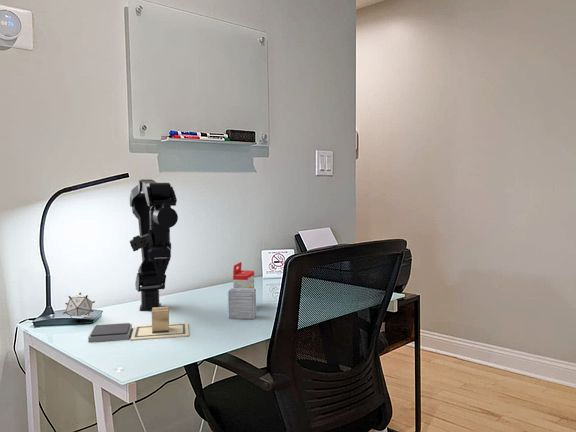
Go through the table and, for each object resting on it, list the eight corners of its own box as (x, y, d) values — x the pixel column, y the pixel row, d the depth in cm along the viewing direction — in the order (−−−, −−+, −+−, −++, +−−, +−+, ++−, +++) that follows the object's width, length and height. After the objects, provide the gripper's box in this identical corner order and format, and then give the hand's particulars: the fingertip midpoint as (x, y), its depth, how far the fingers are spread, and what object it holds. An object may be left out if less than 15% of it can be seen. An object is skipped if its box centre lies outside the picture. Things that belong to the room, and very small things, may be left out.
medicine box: (256, 315, 152) (256, 288, 152) (254, 319, 148) (253, 291, 147) (231, 315, 153) (231, 287, 152) (228, 319, 149) (227, 290, 148)
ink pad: (94, 330, 137) (94, 324, 137) (132, 328, 139) (131, 322, 139) (88, 342, 127) (88, 335, 127) (128, 339, 130) (128, 332, 130)
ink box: (247, 311, 157) (247, 266, 156) (232, 311, 158) (232, 265, 157) (254, 305, 165) (254, 261, 164) (240, 304, 166) (240, 261, 165)
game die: (75, 334, 146) (52, 312, 141) (78, 317, 153) (57, 295, 148) (101, 319, 146) (80, 296, 141) (103, 303, 153) (83, 280, 149)
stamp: (152, 328, 138) (152, 307, 138) (169, 327, 139) (168, 306, 138) (152, 333, 134) (151, 311, 133) (168, 332, 135) (168, 310, 134)
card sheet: (134, 327, 140) (134, 325, 140) (187, 323, 144) (187, 322, 144) (130, 340, 129) (130, 338, 129) (188, 336, 132) (188, 334, 132)
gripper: (133, 223, 152) (135, 273, 153) (128, 228, 134) (129, 285, 135) (170, 222, 155) (171, 271, 156) (170, 227, 137) (171, 283, 138)
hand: (160, 277), depth 146 cm, fingers open, 9 cm apart
